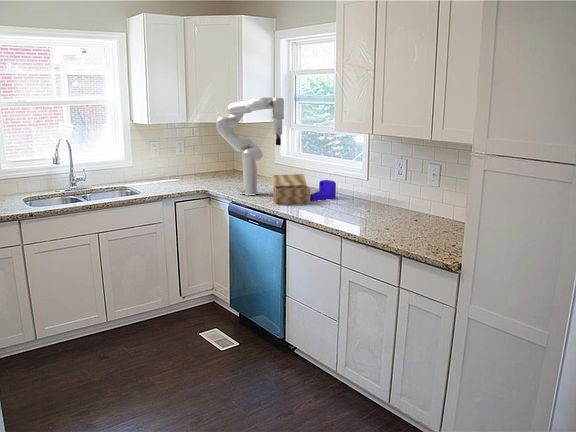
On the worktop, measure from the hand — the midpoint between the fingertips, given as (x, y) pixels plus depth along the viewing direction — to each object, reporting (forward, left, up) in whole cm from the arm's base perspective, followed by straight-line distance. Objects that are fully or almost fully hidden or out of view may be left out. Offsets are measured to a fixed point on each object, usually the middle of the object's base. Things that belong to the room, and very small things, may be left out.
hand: (278, 145), depth 349 cm
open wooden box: (+6, -19, -35) cm, 40 cm away
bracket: (+27, -12, -36) cm, 46 cm away
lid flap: (+6, -8, -22) cm, 24 cm away
